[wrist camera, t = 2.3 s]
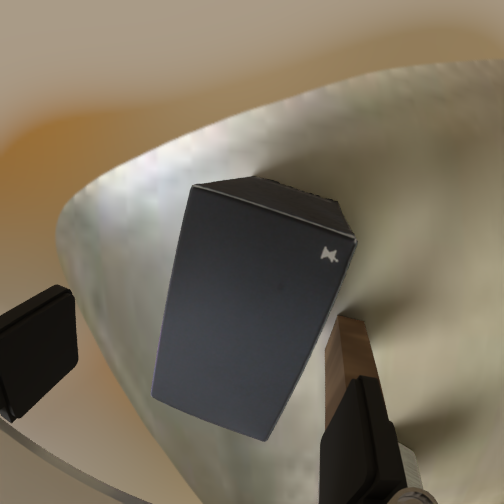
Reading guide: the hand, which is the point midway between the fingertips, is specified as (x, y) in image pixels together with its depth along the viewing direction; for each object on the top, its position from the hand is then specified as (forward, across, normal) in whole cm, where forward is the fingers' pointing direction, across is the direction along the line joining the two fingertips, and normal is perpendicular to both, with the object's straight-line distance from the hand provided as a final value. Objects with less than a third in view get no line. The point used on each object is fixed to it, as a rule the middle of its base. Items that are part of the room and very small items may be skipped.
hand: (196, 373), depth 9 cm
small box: (+13, -1, 0) cm, 13 cm away
